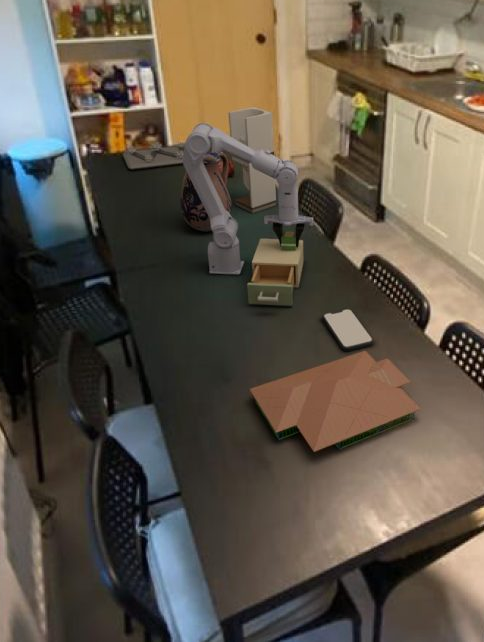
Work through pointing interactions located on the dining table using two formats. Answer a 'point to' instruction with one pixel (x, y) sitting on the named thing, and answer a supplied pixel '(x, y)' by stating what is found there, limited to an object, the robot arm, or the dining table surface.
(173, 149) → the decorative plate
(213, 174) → the ceramic pitcher
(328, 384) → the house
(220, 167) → the beverage can
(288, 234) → the green box
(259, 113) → the gray hollow column
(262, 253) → the cabinet
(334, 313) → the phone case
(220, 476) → the dining table surface
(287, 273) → the drawer
